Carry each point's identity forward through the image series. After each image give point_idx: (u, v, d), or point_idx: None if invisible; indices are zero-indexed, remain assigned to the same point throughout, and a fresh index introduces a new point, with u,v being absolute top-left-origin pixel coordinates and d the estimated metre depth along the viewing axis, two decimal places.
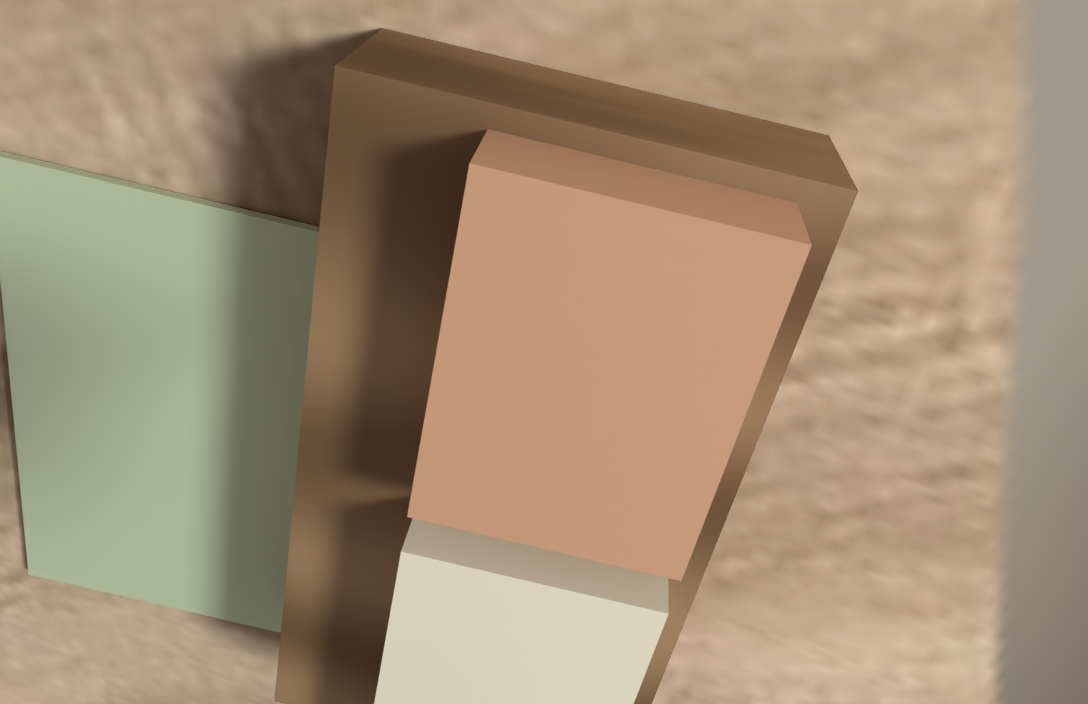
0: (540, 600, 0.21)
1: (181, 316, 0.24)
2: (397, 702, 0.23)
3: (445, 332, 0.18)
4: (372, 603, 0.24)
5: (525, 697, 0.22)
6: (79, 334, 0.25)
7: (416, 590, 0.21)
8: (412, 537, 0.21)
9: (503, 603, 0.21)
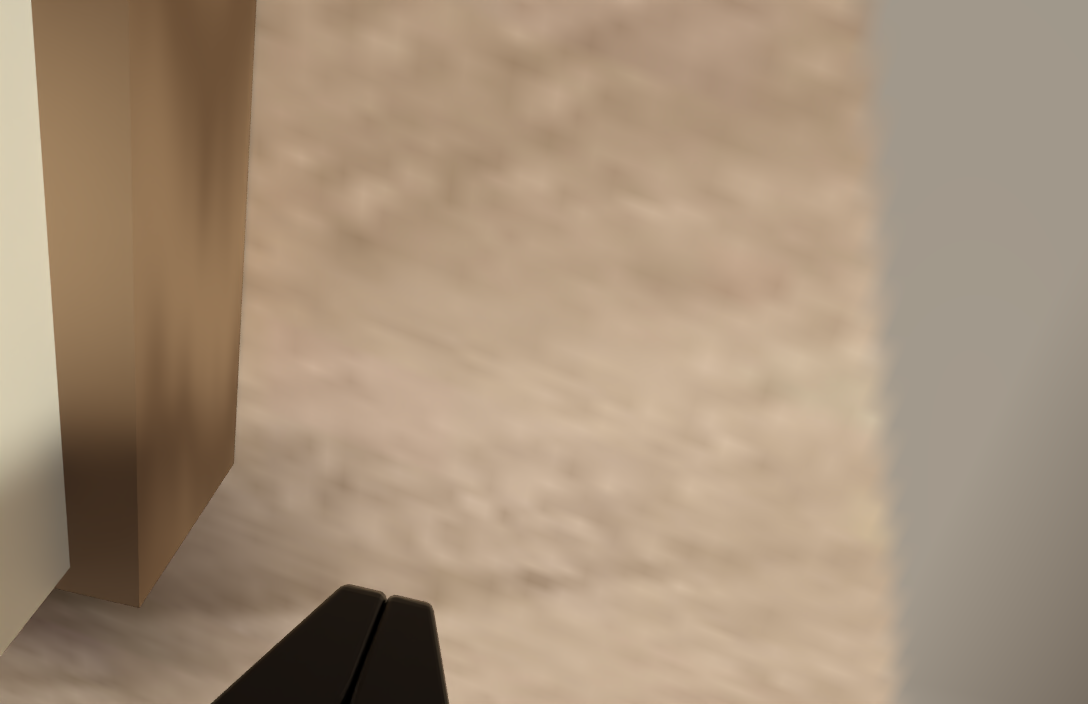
0: None
1: None
2: None
3: None
4: None
5: None
6: None
7: None
8: None
9: None
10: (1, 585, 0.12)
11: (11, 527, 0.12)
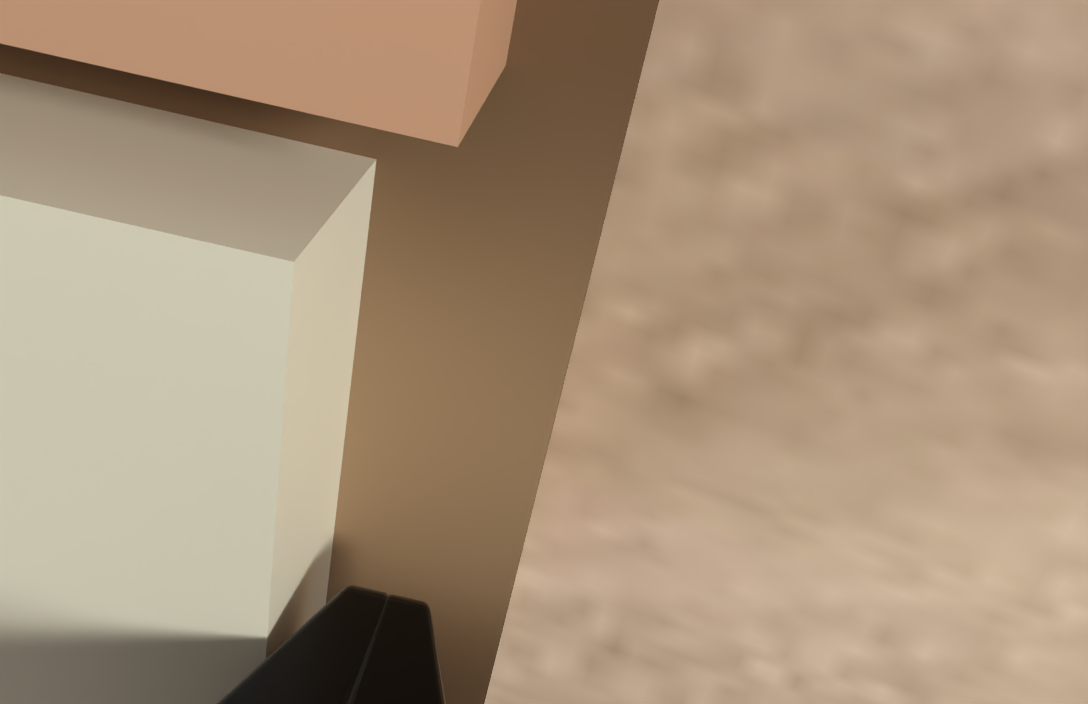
0: None
1: None
2: None
3: None
4: None
5: None
6: None
7: None
8: None
9: None
10: None
11: None
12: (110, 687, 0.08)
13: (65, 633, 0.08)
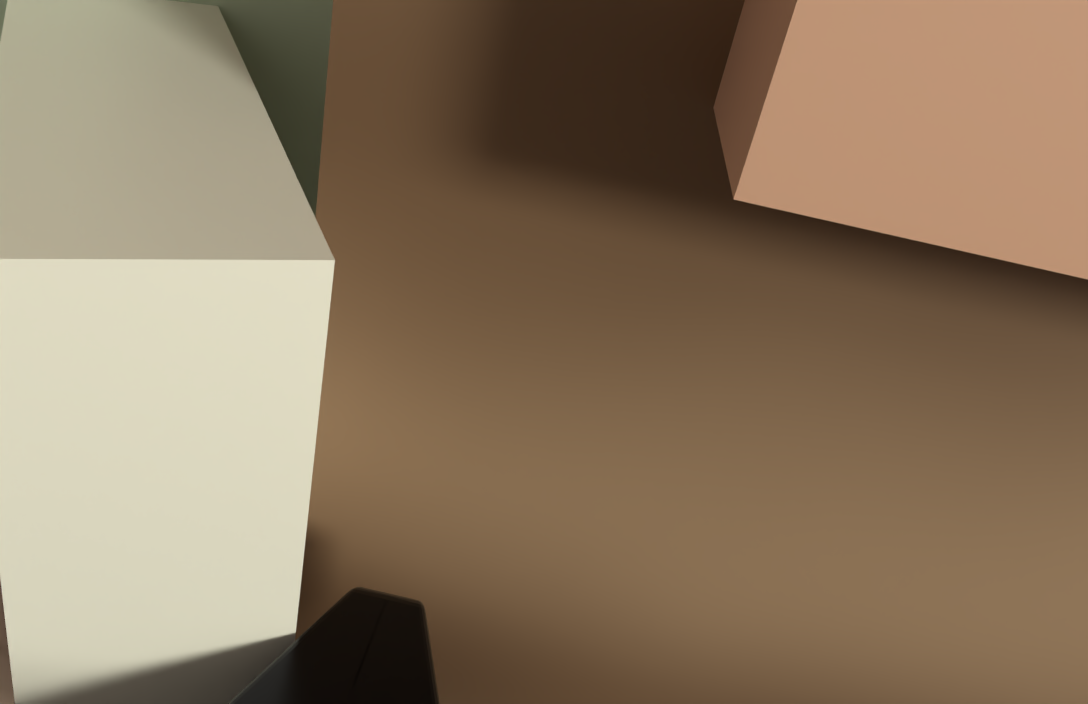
0: None
1: None
2: None
3: None
4: (509, 554, 0.10)
5: None
6: None
7: None
8: None
9: None
10: None
11: None
12: None
13: None
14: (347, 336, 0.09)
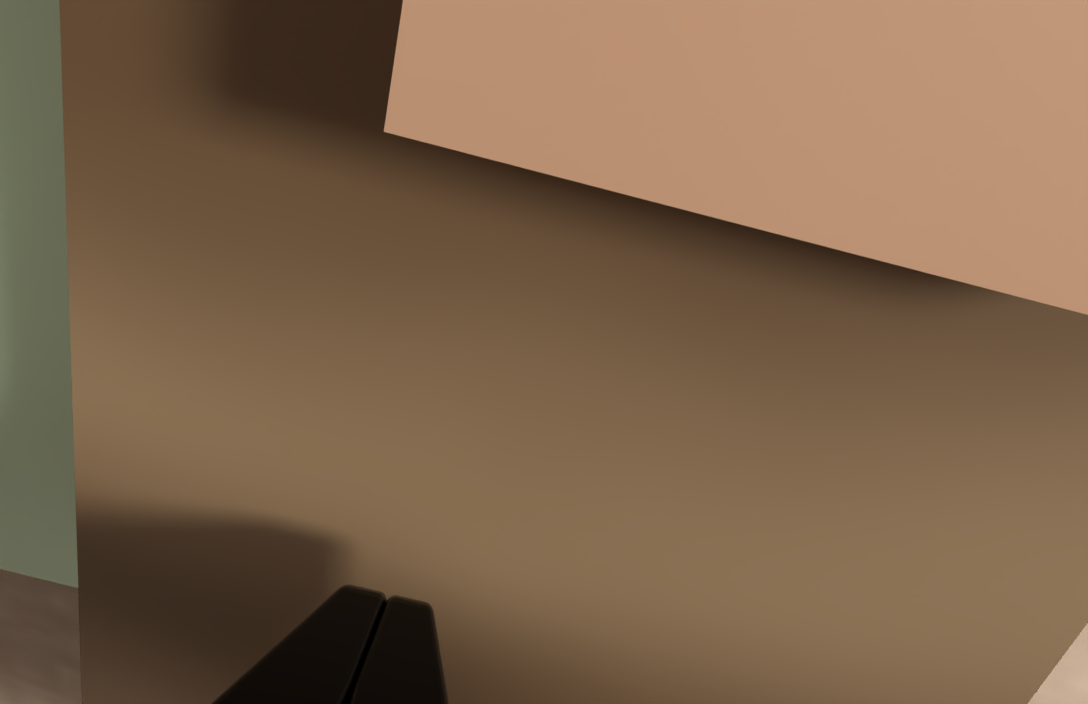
0: None
1: None
2: None
3: None
4: (296, 517, 0.10)
5: None
6: None
7: None
8: None
9: None
10: None
11: None
12: None
13: None
14: (110, 285, 0.08)
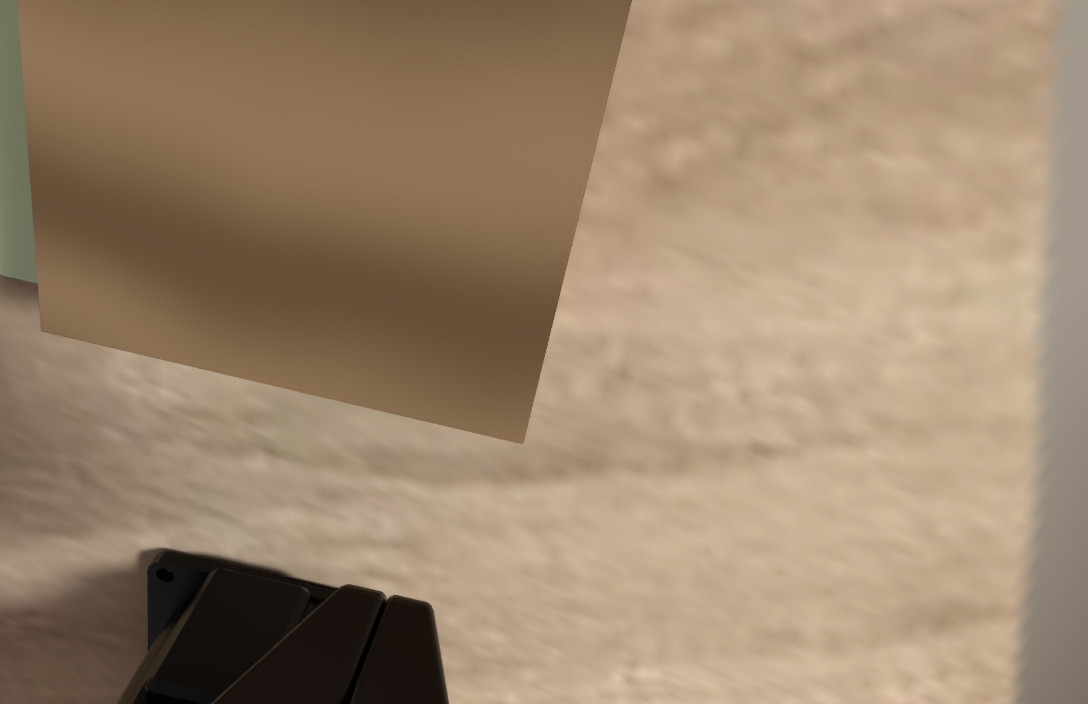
0: None
1: None
2: None
3: None
4: (150, 139, 0.17)
5: None
6: None
7: None
8: None
9: None
10: None
11: None
12: None
13: None
14: None
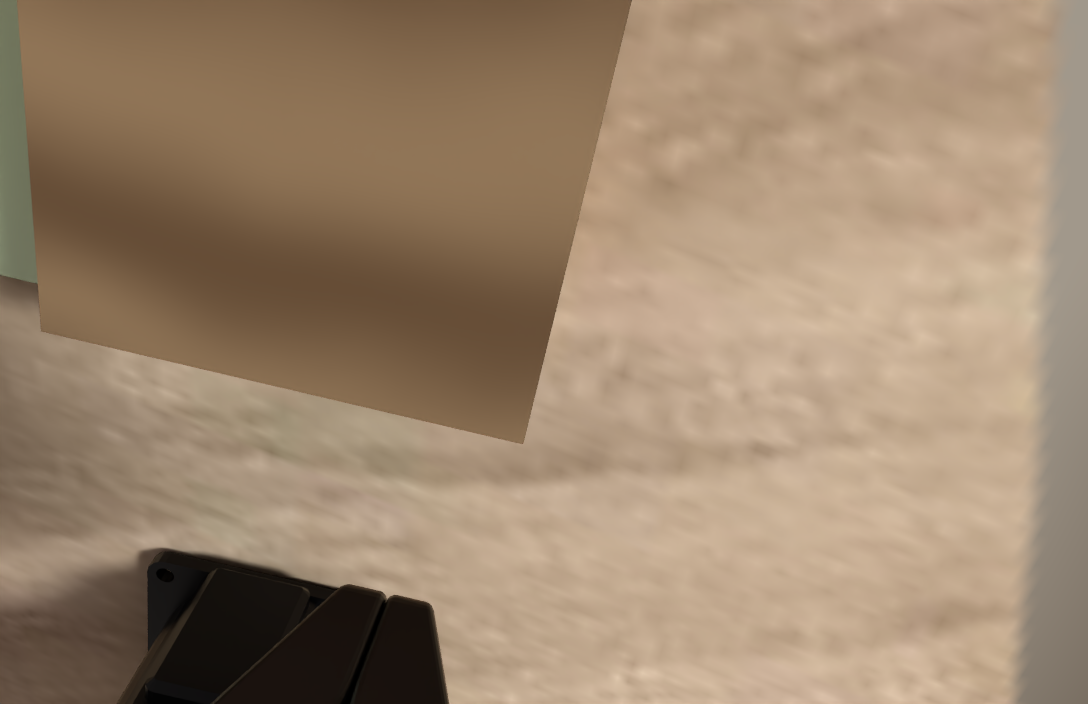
0: None
1: None
2: None
3: None
4: (150, 139, 0.17)
5: None
6: None
7: None
8: None
9: None
10: None
11: None
12: None
13: None
14: None
